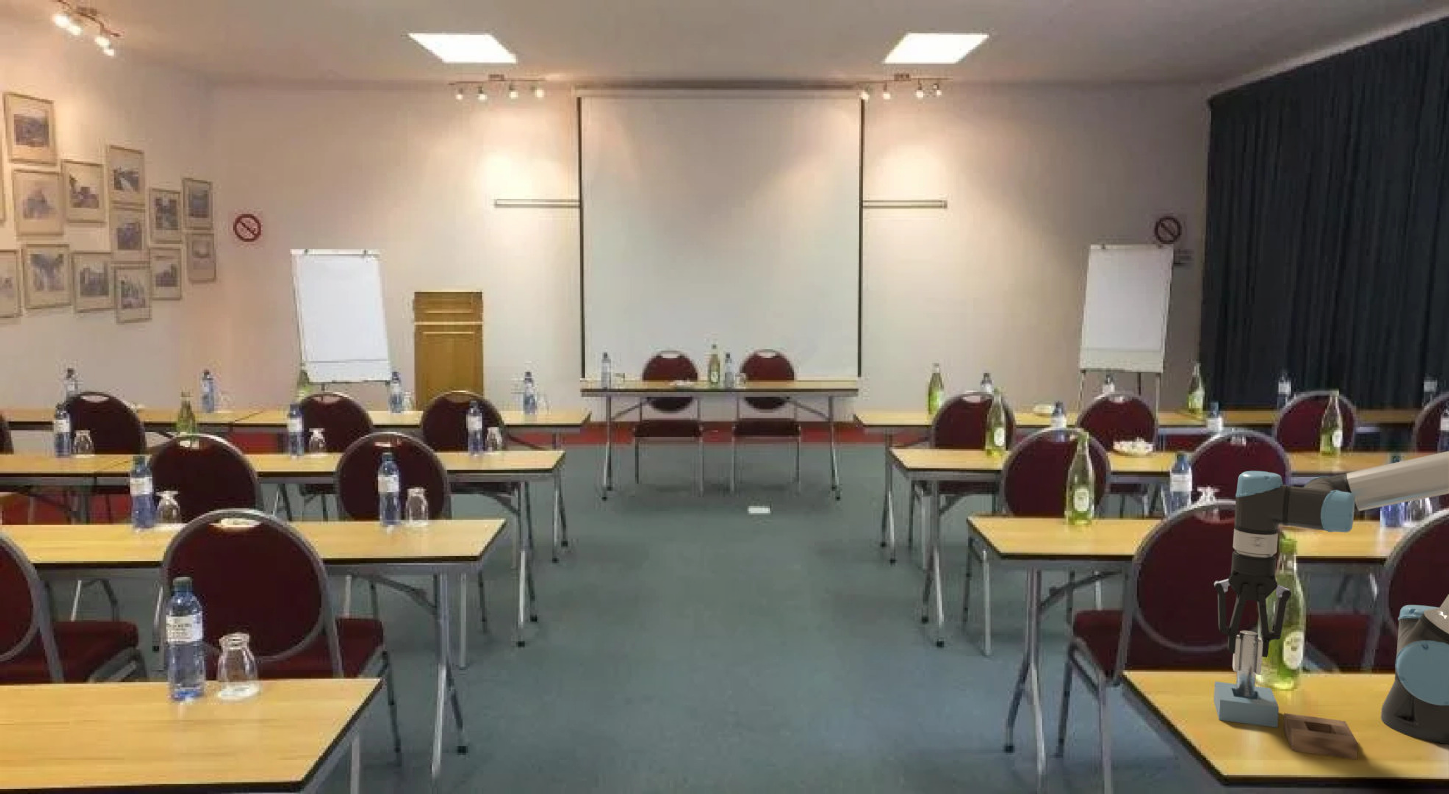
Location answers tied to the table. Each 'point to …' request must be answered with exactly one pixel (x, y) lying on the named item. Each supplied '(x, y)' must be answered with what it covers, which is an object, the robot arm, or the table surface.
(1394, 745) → the table surface
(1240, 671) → the pin
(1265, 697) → the docking socket
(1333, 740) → the block
